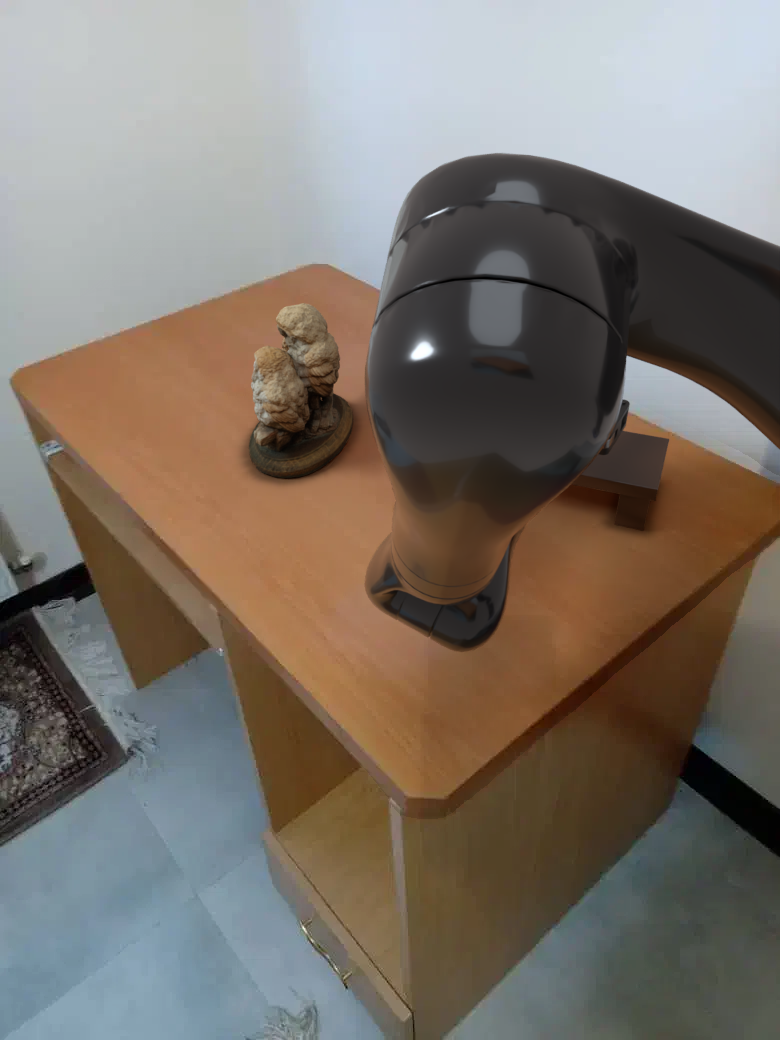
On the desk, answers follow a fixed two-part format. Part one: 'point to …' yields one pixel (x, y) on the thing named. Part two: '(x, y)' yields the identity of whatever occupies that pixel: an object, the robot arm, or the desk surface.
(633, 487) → the bench
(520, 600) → the desk surface
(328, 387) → the owl figurine
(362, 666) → the desk surface
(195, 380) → the desk surface
